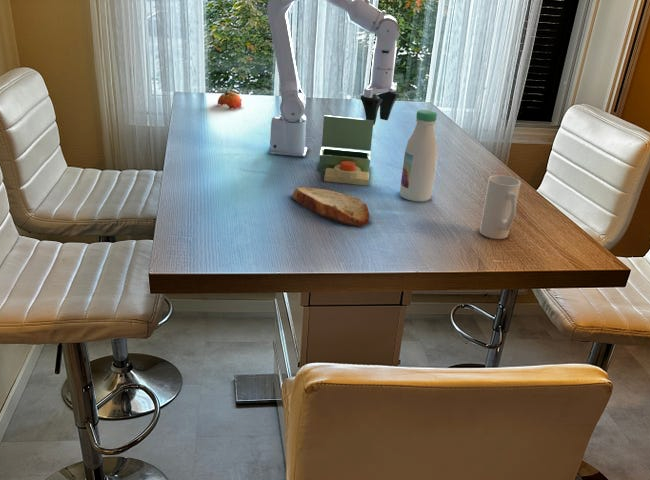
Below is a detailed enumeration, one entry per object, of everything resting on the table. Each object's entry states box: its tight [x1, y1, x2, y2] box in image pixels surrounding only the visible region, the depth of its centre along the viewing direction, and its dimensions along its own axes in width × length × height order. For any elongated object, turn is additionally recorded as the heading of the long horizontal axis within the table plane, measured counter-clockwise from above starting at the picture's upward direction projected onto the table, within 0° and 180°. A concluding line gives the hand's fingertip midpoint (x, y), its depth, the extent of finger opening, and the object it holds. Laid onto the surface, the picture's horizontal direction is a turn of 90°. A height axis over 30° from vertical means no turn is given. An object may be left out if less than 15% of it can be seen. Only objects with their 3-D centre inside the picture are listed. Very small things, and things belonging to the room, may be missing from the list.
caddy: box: [318, 146, 371, 173], centre depth 183 cm, size 7×13×4 cm, turn 88°
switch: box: [340, 161, 355, 171], centre depth 174 cm, size 4×4×2 cm
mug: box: [479, 174, 522, 240], centre depth 149 cm, size 10×7×12 cm, turn 15°
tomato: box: [217, 90, 243, 110], centre depth 228 cm, size 8×7×7 cm
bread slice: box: [291, 187, 370, 227], centre depth 156 cm, size 18×18×4 cm
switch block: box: [323, 165, 370, 186], centre depth 176 cm, size 11×7×3 cm, turn 88°
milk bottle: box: [399, 109, 439, 202], centre depth 165 cm, size 8×8×20 cm
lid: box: [321, 115, 374, 152], centre depth 183 cm, size 8×13×1 cm
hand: (377, 121), depth 188 cm, fingers open, 7 cm apart
